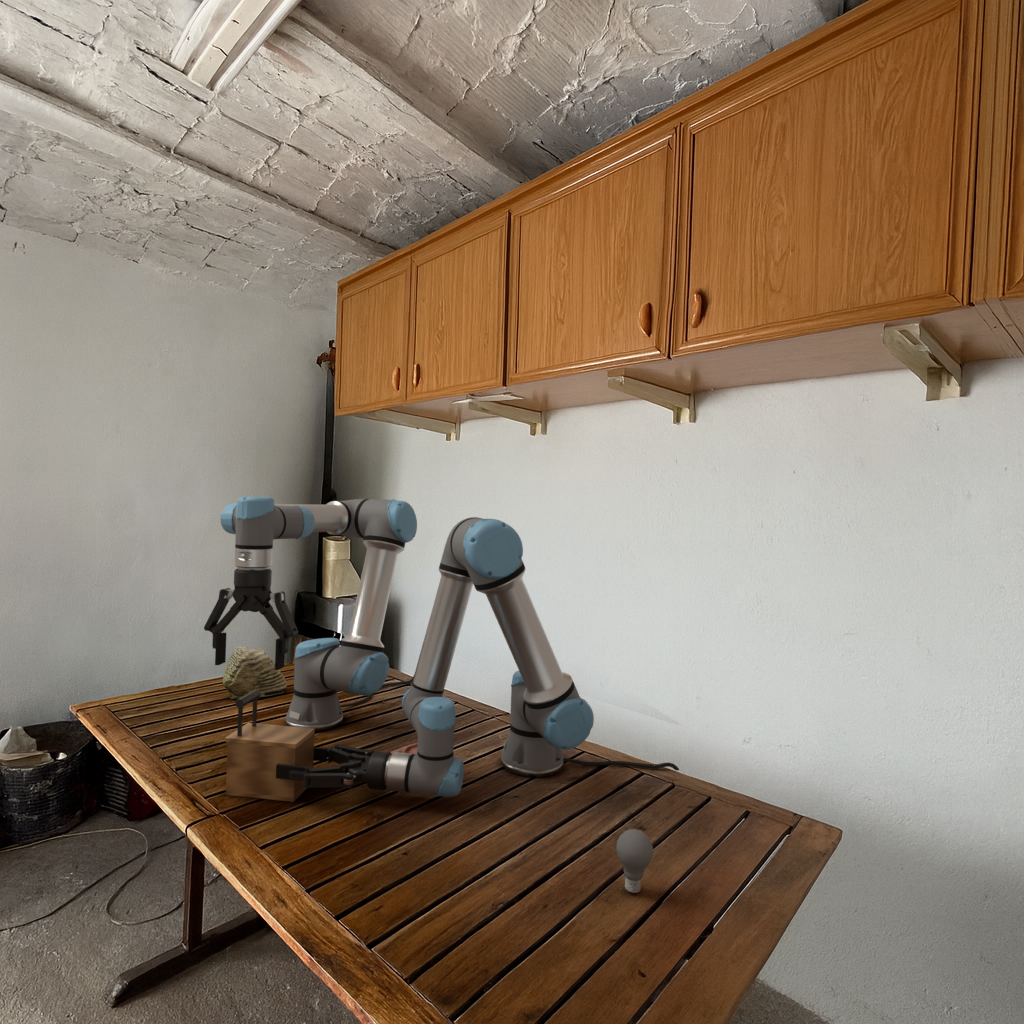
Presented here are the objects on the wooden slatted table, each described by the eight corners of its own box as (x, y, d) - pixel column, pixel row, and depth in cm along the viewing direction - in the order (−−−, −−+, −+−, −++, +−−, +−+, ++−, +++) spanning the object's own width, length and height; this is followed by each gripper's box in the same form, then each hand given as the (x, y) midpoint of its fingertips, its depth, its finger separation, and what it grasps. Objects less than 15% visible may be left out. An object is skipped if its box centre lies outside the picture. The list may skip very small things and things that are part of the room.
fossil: (218, 695, 195) (220, 647, 195) (278, 685, 208) (279, 640, 207) (228, 703, 189) (230, 653, 188) (289, 692, 201) (290, 645, 201)
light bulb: (610, 879, 108) (613, 822, 108) (644, 879, 109) (647, 822, 109) (619, 902, 102) (622, 840, 102) (655, 901, 103) (658, 840, 103)
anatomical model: (361, 752, 147) (381, 734, 159) (361, 769, 148) (381, 750, 159) (415, 759, 145) (432, 741, 156) (415, 776, 145) (431, 757, 156)
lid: (224, 741, 133) (226, 699, 132) (248, 726, 142) (249, 687, 142) (295, 748, 131) (297, 705, 131) (314, 732, 140) (316, 692, 140)
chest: (225, 794, 133) (227, 742, 133) (249, 776, 142) (250, 727, 142) (293, 802, 131) (295, 748, 131) (312, 782, 140) (314, 732, 140)
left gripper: (188, 566, 134) (185, 666, 134) (300, 573, 131) (296, 675, 131) (209, 563, 142) (206, 657, 142) (316, 569, 138) (312, 665, 139)
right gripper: (371, 814, 122) (261, 802, 125) (403, 767, 144) (309, 758, 147) (372, 775, 122) (262, 764, 125) (405, 734, 144) (311, 726, 147)
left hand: (249, 666), depth 137 cm, fingers open, 13 cm apart
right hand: (288, 761), depth 136 cm, fingers closed on chest, 9 cm apart
